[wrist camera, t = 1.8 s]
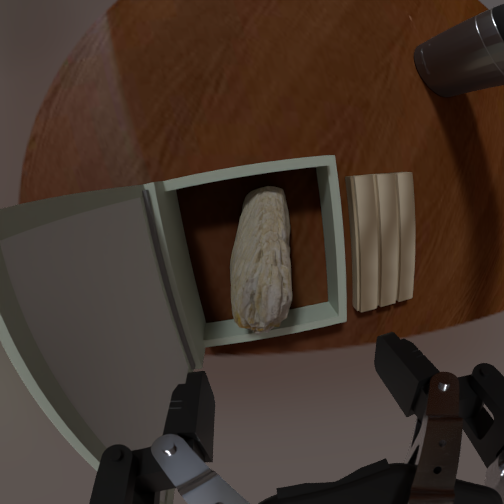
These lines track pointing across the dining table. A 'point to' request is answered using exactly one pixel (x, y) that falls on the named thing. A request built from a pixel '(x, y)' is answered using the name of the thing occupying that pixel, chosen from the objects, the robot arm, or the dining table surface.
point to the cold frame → (127, 304)
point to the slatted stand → (381, 238)
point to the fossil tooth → (262, 262)
